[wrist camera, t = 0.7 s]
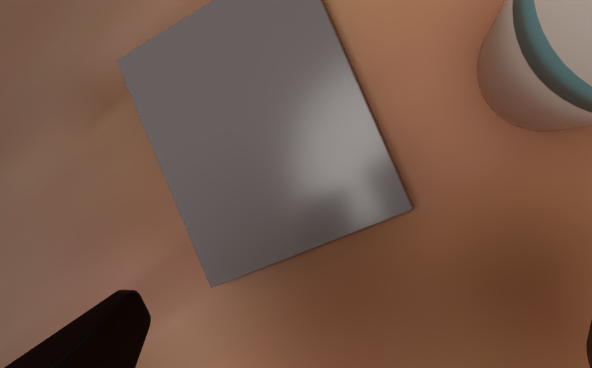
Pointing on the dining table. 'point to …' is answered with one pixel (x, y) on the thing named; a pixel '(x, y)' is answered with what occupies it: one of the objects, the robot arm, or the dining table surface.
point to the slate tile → (262, 132)
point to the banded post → (539, 64)
